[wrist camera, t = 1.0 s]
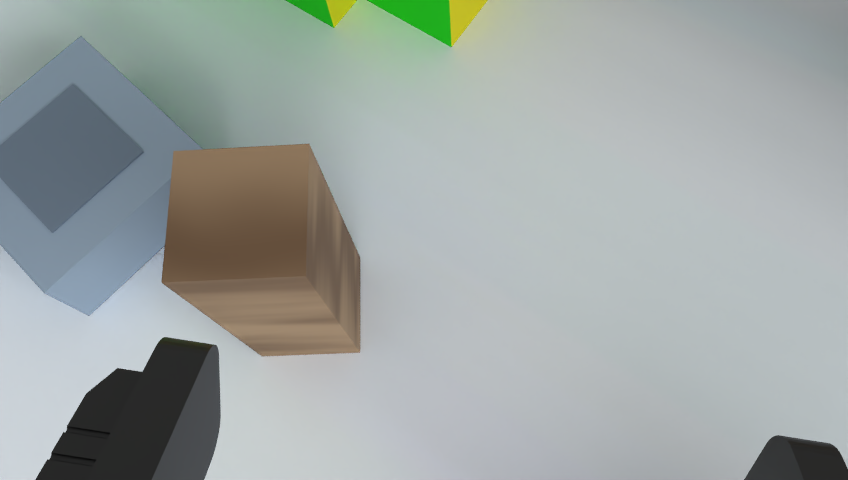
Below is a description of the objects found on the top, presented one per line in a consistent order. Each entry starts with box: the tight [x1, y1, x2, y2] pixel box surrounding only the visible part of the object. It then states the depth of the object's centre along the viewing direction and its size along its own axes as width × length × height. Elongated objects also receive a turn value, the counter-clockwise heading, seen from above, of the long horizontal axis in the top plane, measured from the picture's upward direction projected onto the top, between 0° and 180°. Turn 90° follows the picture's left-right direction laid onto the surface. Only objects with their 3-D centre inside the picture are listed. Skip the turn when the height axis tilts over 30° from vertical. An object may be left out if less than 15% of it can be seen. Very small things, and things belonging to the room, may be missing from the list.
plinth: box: [0, 36, 202, 316], centre depth 36 cm, size 9×9×4 cm
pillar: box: [162, 144, 360, 356], centre depth 30 cm, size 4×4×12 cm
